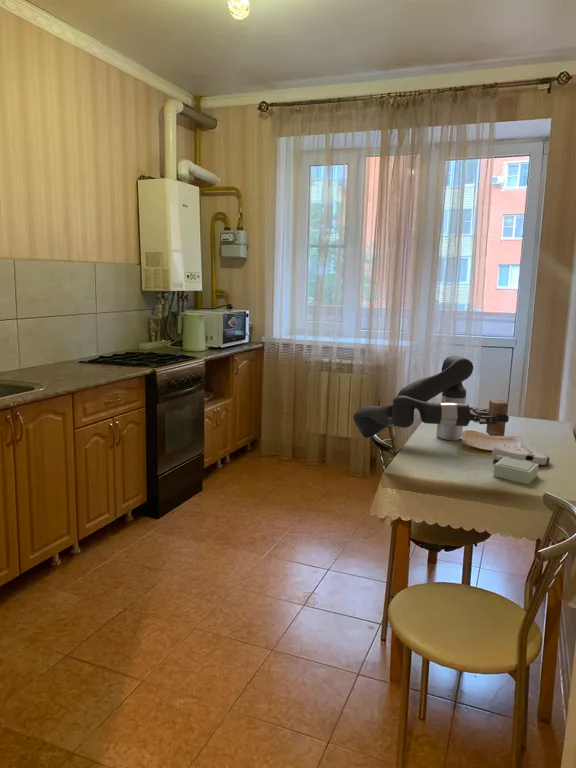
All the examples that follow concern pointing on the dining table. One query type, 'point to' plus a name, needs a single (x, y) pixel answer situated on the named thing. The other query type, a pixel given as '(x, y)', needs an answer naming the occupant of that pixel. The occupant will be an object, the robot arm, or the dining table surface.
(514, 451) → the toy
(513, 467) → the stand
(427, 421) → the robot arm
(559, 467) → the dining table surface
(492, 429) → the block
